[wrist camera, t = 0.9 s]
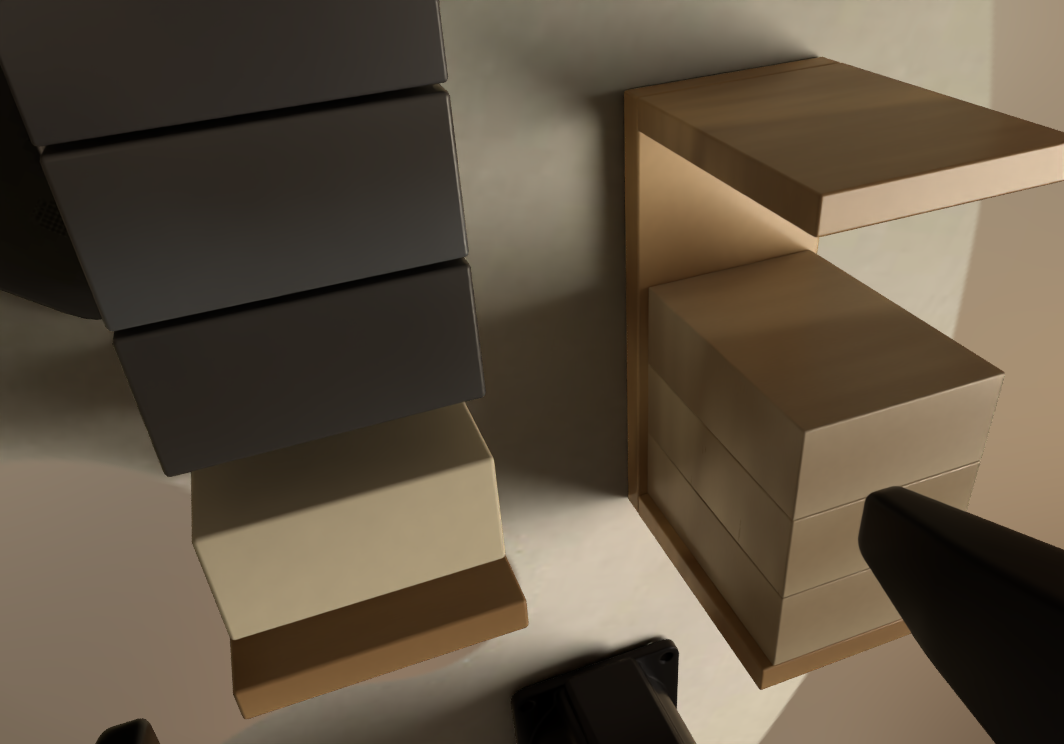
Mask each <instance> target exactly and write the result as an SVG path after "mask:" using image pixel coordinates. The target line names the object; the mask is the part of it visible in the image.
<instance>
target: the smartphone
mask: <svg viewBox="0 0 1064 744" xmlns="http://www.w3.org/2000/svg"><path fill="white" fill-rule="evenodd" d="M44 148H45V146H40V147H38V146H34V145H33V144H32V143H31V140H30V138H29V135H28V133H27V130H26V128H25V125H24V123H23V120H22V118H21V115H20V113H19V110H18V108H17V105H16V103H15V100H14V98H13V95H12V93H11V90H10V88H9V85H8V83H7V80H6V78H5V75H4V73H3V70H2V68H1V65H0V290H3V291H6V292H8V293H11V294H14V295H17V296H19V297H22V298H25V299H28V300H30V301H33V302H36V303H39V304H41V305H44V306H47V307H50V308H52V309H55V310H58V311H61V312H64V313H66V314H70V315H73V316H77V317H80V318H85V319H95V320H99V319H102V317H101V314H100V312H99V309H98V307H97V304H96V302H95V299H94V297H93V294H92V292H91V289H90V287H89V284H88V282H87V279H86V277H85V274H84V272H83V269H82V267H81V264H80V262H79V259H78V257H77V254H76V252H75V249H74V247H73V244H72V242H71V239H70V237H69V234H68V232H67V229H66V227H65V224H64V222H63V219H62V217H61V214H60V212H59V209H58V207H57V204H56V202H55V199H54V196H53V194H52V191H51V189H50V186H49V184H48V181H47V179H46V176H45V174H44V171H43V169H42V166H41V164H40V156H41V154H42V152H43V150H44Z"/></svg>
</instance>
